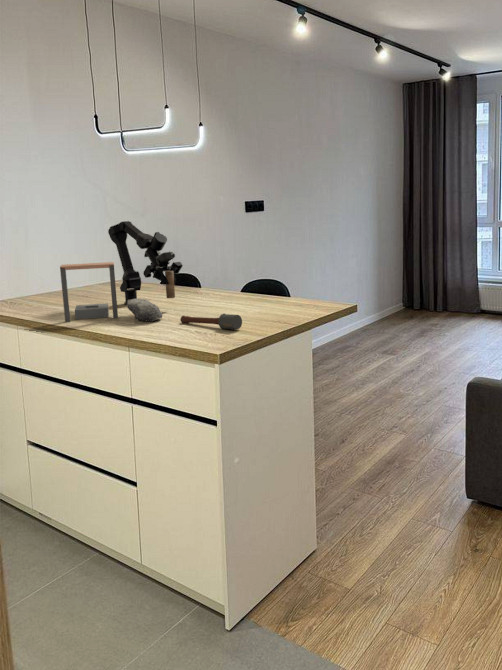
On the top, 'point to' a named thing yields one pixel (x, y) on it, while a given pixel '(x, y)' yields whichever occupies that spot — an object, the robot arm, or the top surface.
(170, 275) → the peg
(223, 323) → the mallet
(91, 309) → the socket stand
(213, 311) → the top surface
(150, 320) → the rock
